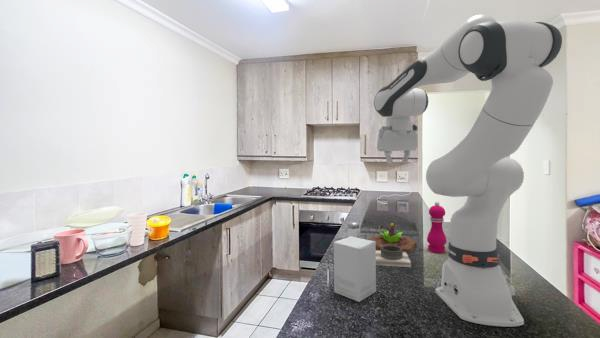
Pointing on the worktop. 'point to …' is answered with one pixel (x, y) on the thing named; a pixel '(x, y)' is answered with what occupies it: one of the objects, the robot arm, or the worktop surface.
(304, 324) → the worktop surface
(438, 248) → the pepper mill
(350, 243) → the supplement box
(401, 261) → the duct board
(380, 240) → the plant
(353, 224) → the frosted cylinder in socket
